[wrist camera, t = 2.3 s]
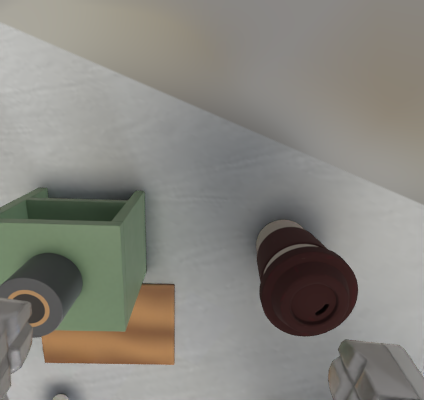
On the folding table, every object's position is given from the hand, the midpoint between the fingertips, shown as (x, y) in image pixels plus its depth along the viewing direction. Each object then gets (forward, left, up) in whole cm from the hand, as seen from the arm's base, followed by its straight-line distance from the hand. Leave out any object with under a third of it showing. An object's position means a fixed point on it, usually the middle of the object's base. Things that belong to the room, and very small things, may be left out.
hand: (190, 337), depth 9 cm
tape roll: (-12, +15, -22) cm, 29 cm away
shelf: (-12, +15, -35) cm, 40 cm away
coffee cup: (-13, -11, -36) cm, 39 cm away
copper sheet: (-27, +14, -35) cm, 46 cm away
